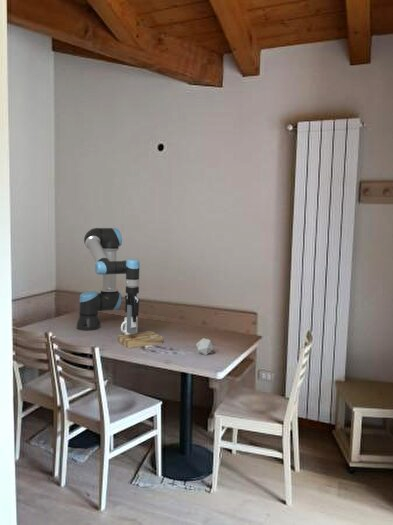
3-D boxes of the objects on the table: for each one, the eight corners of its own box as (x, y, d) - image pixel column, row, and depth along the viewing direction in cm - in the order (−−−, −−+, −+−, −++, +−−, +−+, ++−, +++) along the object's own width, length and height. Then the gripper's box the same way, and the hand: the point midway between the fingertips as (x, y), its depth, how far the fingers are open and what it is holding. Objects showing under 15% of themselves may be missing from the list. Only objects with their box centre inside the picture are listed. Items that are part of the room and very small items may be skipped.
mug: (124, 337, 284) (125, 321, 282) (116, 334, 289) (116, 318, 288) (140, 334, 292) (140, 318, 291) (131, 331, 298) (131, 315, 297)
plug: (126, 332, 271) (127, 304, 269) (132, 331, 273) (133, 304, 271) (129, 333, 267) (130, 306, 265) (136, 332, 270) (136, 305, 268)
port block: (117, 342, 274) (118, 335, 273) (150, 337, 286) (150, 330, 286) (129, 348, 262) (129, 341, 262) (162, 343, 275) (162, 336, 275)
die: (198, 351, 264) (191, 339, 259) (212, 344, 264) (206, 332, 259) (202, 361, 257) (195, 349, 252) (217, 353, 257) (210, 341, 252)
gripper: (119, 284, 272) (119, 323, 274) (133, 289, 258) (132, 330, 261) (131, 283, 276) (130, 322, 279) (145, 288, 262) (144, 328, 265)
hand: (131, 326), depth 270 cm, fingers closed on plug, 4 cm apart
